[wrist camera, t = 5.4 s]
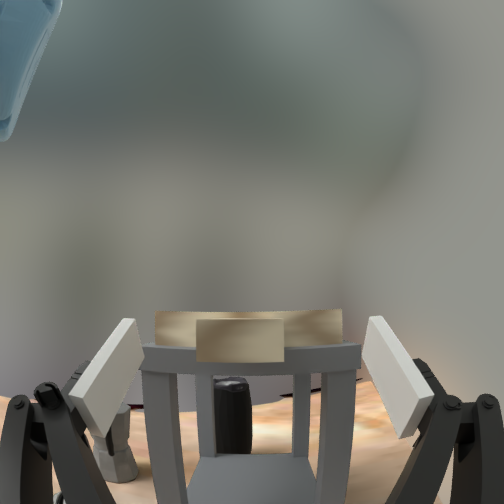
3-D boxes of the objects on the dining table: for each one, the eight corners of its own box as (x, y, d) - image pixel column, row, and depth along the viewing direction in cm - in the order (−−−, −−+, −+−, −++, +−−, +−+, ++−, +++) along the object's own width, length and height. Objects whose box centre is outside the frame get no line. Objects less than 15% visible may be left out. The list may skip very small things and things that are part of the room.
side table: (173, 573, 15) (135, 345, 21) (204, 487, 38) (196, 332, 45) (331, 574, 14) (361, 344, 21) (305, 486, 38) (309, 331, 44)
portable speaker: (203, 464, 48) (197, 381, 52) (226, 449, 56) (223, 374, 60) (238, 474, 44) (235, 387, 48) (259, 456, 52) (258, 377, 56)
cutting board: (87, 360, 13) (86, 303, 13) (199, 333, 43) (199, 313, 43) (402, 359, 12) (401, 300, 13) (305, 332, 42) (304, 312, 43)
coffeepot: (94, 457, 42) (83, 381, 46) (135, 458, 46) (127, 383, 50) (94, 494, 29) (74, 403, 33) (146, 494, 33) (133, 406, 37)
